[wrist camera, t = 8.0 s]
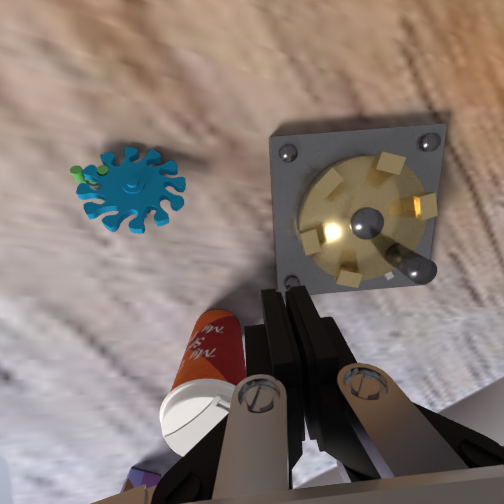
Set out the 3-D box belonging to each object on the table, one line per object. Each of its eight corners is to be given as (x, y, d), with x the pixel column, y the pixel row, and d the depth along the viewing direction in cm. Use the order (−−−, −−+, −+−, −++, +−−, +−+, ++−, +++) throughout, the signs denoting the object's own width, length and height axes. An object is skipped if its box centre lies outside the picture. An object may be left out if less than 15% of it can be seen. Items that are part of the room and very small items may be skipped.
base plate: (268, 137, 31) (271, 136, 29) (434, 125, 32) (451, 122, 29) (276, 290, 37) (279, 299, 35) (417, 278, 37) (429, 286, 35)
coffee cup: (206, 290, 37) (186, 375, 23) (261, 320, 38) (274, 417, 24) (174, 338, 39) (137, 445, 25) (227, 365, 40) (221, 480, 26)
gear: (201, 162, 30) (158, 241, 26) (200, 197, 36) (164, 268, 31) (100, 126, 30) (38, 198, 26) (114, 166, 35) (65, 232, 31)
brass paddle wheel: (271, 220, 32) (280, 238, 25) (361, 125, 29) (399, 116, 22) (351, 293, 35) (378, 327, 28) (439, 214, 33) (492, 230, 26)
